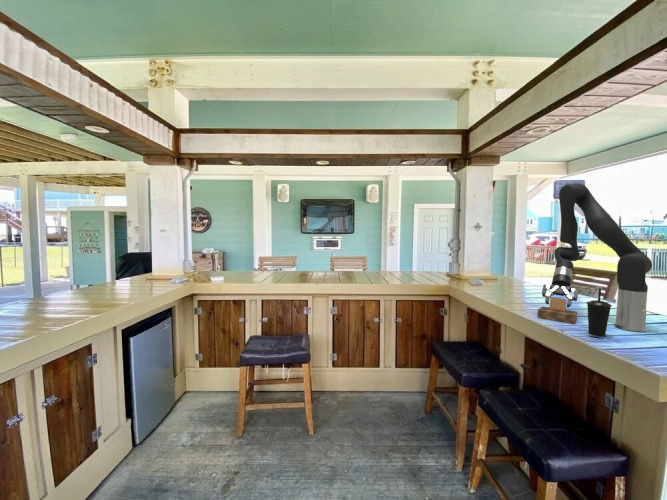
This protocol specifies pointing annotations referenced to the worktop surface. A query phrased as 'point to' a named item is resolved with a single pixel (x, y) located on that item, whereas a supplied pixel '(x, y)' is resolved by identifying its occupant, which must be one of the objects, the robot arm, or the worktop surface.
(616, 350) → the worktop surface
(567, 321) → the box
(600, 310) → the drinking cup
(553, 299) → the cover plate
